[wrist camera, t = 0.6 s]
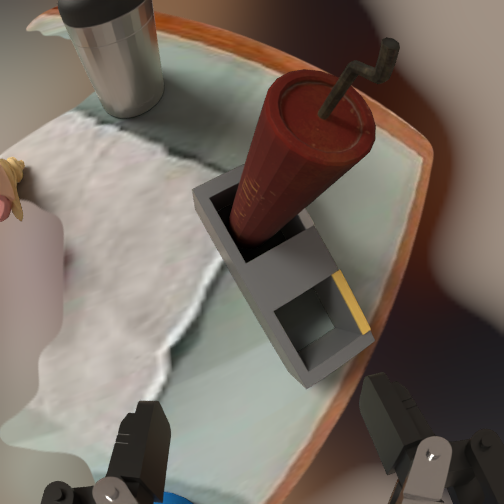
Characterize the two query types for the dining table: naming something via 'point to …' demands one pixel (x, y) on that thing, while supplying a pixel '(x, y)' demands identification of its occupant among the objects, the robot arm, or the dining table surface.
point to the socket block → (288, 284)
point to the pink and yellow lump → (10, 188)
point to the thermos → (173, 499)
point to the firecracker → (304, 145)
